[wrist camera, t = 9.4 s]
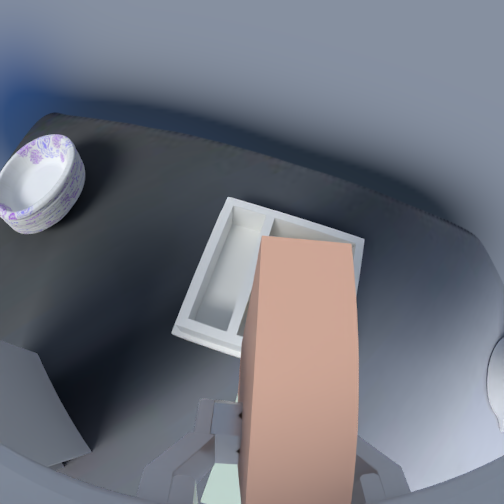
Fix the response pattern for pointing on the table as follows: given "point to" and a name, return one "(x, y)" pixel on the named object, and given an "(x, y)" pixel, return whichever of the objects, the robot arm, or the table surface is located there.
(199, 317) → the white divided tray
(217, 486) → the sage mat
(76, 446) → the brochure
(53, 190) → the paper bowls
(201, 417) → the robot arm
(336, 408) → the terracotta board
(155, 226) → the table surface
